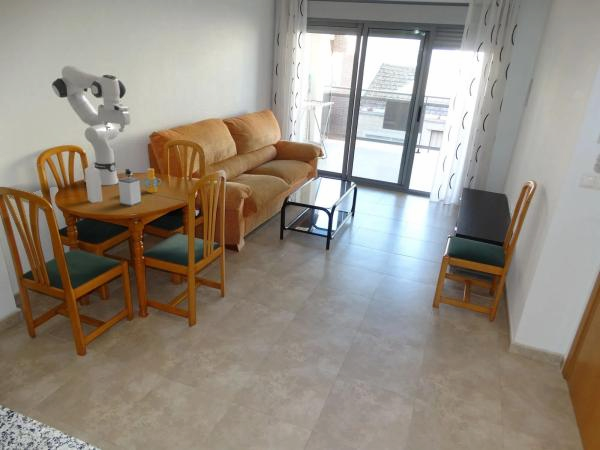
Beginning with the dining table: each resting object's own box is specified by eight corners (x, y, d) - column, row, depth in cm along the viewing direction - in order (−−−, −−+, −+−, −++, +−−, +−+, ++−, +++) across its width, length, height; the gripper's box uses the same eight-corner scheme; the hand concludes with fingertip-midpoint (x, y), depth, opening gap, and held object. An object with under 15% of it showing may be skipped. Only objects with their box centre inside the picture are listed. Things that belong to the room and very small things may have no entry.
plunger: (123, 201, 243) (120, 169, 236) (130, 199, 248) (127, 167, 241) (131, 203, 242) (128, 171, 235) (137, 200, 246) (135, 169, 239)
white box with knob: (120, 204, 243) (118, 179, 238) (135, 198, 254) (133, 175, 248) (131, 206, 241) (129, 181, 235) (145, 201, 251) (143, 177, 246)
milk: (98, 198, 249) (94, 162, 241) (102, 201, 246) (98, 164, 238) (87, 200, 245) (83, 164, 237) (92, 203, 241) (87, 166, 233)
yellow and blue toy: (154, 195, 262) (153, 172, 257) (139, 193, 264) (137, 170, 259) (164, 190, 274) (163, 168, 268) (149, 188, 275) (148, 166, 270)
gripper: (93, 104, 231) (96, 129, 237) (122, 108, 225) (124, 133, 230) (102, 103, 237) (104, 128, 242) (131, 107, 231) (133, 132, 236)
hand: (114, 131), depth 236 cm, fingers open, 8 cm apart
